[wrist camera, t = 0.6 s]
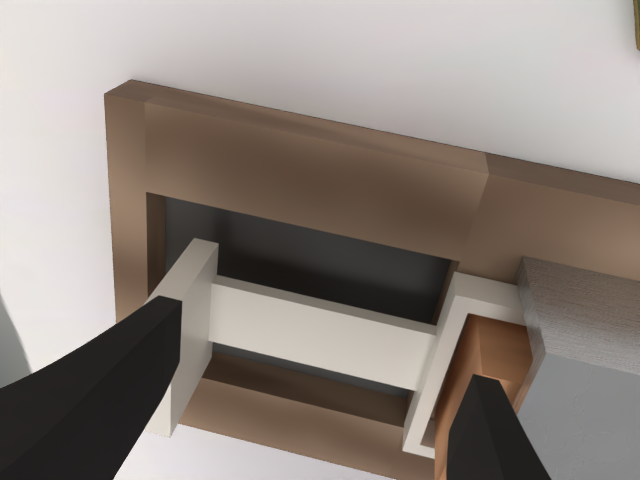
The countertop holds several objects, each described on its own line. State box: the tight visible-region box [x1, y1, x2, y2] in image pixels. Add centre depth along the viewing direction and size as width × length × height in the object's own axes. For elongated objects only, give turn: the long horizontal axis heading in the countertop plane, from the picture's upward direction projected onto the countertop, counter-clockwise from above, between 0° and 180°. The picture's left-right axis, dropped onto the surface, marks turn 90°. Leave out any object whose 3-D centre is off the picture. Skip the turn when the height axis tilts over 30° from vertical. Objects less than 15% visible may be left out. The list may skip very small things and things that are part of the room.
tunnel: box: [512, 256, 640, 480], centre depth 20 cm, size 11×6×5 cm, turn 171°
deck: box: [104, 80, 640, 480], centre depth 23 cm, size 16×32×2 cm, turn 81°
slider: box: [144, 238, 526, 459], centre depth 21 cm, size 8×20×4 cm, turn 81°
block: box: [435, 314, 533, 480], centre depth 21 cm, size 6×8×4 cm
